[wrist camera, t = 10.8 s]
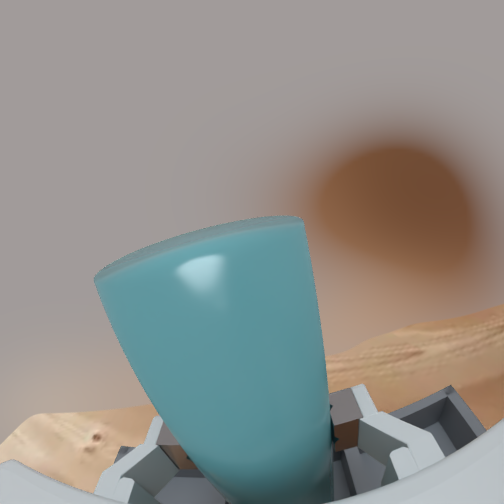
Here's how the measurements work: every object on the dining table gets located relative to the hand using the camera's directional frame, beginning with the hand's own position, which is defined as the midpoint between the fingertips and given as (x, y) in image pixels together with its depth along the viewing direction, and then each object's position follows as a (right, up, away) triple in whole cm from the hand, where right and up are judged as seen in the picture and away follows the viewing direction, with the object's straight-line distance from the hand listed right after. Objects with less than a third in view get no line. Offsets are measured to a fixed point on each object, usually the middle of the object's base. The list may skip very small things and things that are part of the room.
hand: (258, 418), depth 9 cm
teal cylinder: (+2, -8, +1) cm, 8 cm away
